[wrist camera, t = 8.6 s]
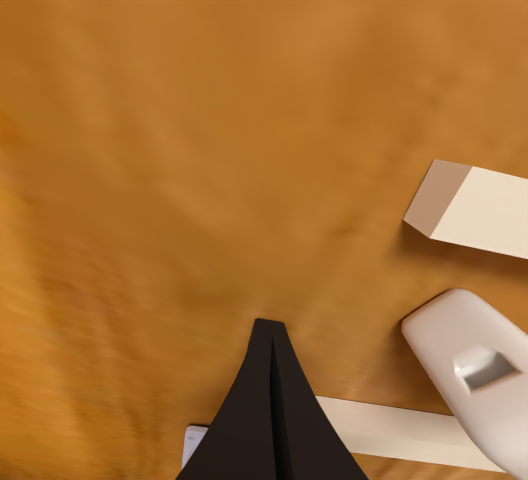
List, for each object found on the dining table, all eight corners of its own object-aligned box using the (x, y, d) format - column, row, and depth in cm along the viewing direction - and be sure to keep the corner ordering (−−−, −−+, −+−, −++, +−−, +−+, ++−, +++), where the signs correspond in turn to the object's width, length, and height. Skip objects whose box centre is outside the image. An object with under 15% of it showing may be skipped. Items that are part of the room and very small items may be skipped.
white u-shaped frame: (523, 446, 18) (548, 478, 16) (301, 414, 16) (304, 445, 15) (817, 250, 10) (924, 274, 8) (434, 158, 9) (473, 166, 7)
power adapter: (560, 369, 14) (740, 519, 9) (481, 403, 16) (591, 545, 10) (465, 268, 11) (654, 404, 5) (380, 324, 12) (461, 469, 7)
